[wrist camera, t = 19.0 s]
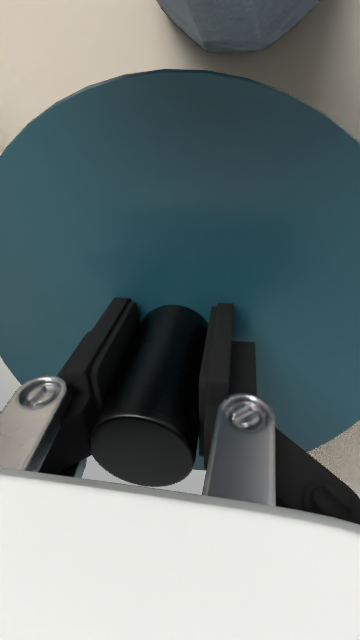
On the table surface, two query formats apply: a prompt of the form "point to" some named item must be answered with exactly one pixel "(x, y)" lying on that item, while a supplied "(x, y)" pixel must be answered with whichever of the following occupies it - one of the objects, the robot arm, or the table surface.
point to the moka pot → (236, 21)
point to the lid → (185, 254)
